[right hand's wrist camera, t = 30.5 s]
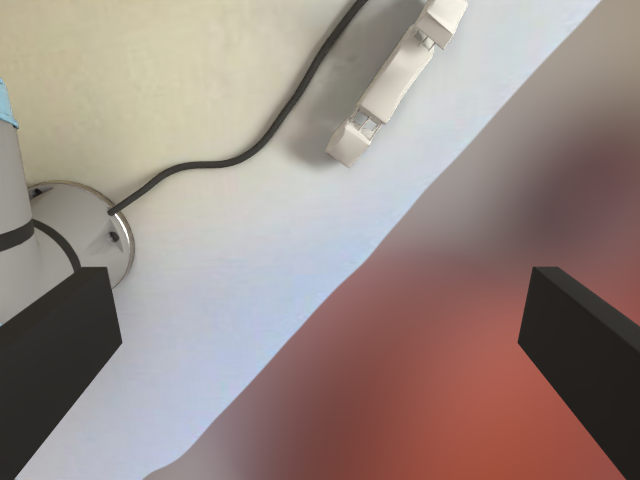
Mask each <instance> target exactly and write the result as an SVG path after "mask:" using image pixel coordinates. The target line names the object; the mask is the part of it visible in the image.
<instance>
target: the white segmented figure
mask: <svg viewBox="0 0 640 480" xmlns="http://www.w3.org/2000/svg"><path fill="white" fill-rule="evenodd" d="M467 6H468V2H467V1H466V0H428V1H427V2H426V4H425V6H424V8H423V10H422V12H421V13H420V15H419V17H418V19H417V21H416V22H415V24H413V25H411V26H410V27H409V29H408V30H407V31H406V33H405V34H404V35H403V37H402V38H401V40H400V41H399V43H398V44H397V46H396V47H395V49H394V50H393V52H392V53H391V55H390V56H389V57H388V59H387V60H386V62H385V63H384V65H383V66H382V68H381V69H380V70H379V72H378V73H377V75H376V76H375V78H374V79H373V80H372V82H371V83H370V85H369V86H368V88H367V89H366V91H365V92H364V93H363V95H362V96H361V98H360V99H359V101H358V102H357V104H356V110H355V111H354V113H353V114H352V116H351V117H350V118H349V117H348V118H347V119H346V120H345V121H344V122H343V123H342V124H341V125H340V126H339V127H338V129H337V130H336V131H335V133H334V134H333V135H332V137H331V139H330V141H329V143H328V145H327V147H326V150H325V151H326V152H327V153H328V154H330V155H331V156H332V157H334V158H335V159H337V160H338V161H339V162H341V163H342V164H343V165H345V166H346V167H348V168H350V167H351V166H352V165H353V164H354V163H355V162H356V160H357V159H358V158H359V157H360V156H361V155H362V154H363V153H364V151H365V150H366V149H367V148H368V147H369V145H370V143H371V141H372V138H373V137H374V135H375V134H376V133H377V131H378V130H379V129H380V127H381V126H382V125H383V124H386V123H387V122H388V121H389V119H390V118H391V116H392V114H393V113H394V111H395V110H396V108H397V106H398V105H399V103H400V101H401V100H402V98H403V96H404V95H405V94H406V92H407V91H408V89H409V88H410V86H411V85H412V84H413V82H414V81H415V79H416V78H417V76H418V75H419V74H420V72H421V71H422V70H423V69H424V67H425V66H426V65H427V63H428V62H429V61H430V60H431V58H432V57H433V53H434V45H435V44H437V45H438V46H439V47H440V48H442V49H443V50H444V48H445V47H446V45H447V44H448V43H449V41H450V40H451V38H452V37H453V35H454V33H455V31H456V28H457V26H458V23H459V21H460V20H461V18H462V16H463V14H464V12H465V10H466V9H467ZM358 110H359V111H360V112H362V113H363V114H364V115H366V116H367V117H368V118H367V120H366V121H365V122H364V123H363V125H362V126H360V125H359V124H357V123H356V122H354V121H353V119H354V117H355V116H356V113H357V111H358ZM351 118H352V119H351ZM370 119H371V120H372V121H374V122H375V123H376V124H377V125H376V127H375V128H374V129H373V130H372V131H371V130H368V129H365V128H363V127H364V126H365V124H366V123H367V122H368V121H369V120H370ZM379 125H380V126H379ZM378 126H379V127H378ZM377 127H378V128H377ZM376 128H377V130H376V131H375V133H373V132H374V130H375V129H376Z"/></svg>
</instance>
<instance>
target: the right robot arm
mask: <svg viewBox="0 0 640 480" xmlns="http://www.w3.org/2000/svg"><path fill="white" fill-rule="evenodd" d="M366 2H367V0H357V1H356V2H355V4H354V5H353V6H352V7H351V9H350V10H349V11H348V12H347V14H346V15H345V16H344V18H343V19H342V20H341V22H340V23H339V24H338V26H337V27H336V28H335V30H334V31H333V32H332V34H331V35H330V36H329V38H328V39H327V40H326V42H325V43H324V45H323V46H322V48H321V49H320V51H319V52H318V54H317V56H316V57H315V59H314V61H313V62H312V64H311V66H310V68H309V69H308V71H307V73H306V75H305V76H304V78H303V80H302V82H301V83H300V85H299V87H298V88H297V90H296V91H295V93H294V94H293V96H292V97H291V99H290V100H289V101H288V103H287V104H286V106H285V107H284V108H283V110H282V111H281V113H280V114H279V115H278V117H277V118H276V120H275V121H274V123H273V124H272V126H271V127H270V128H269V130H268V131H267V133H266V134H265V135H264V136H263V138H262V139H261V140H260V141H259V142H258V143H257V144H256V145H255V146H253V147H252V148H251V149H250V150H248V151H247V152H245V153H243V154H242V155H240V156H238V157H235V158H232V159H229V160H224V161H208V162H189V163H183V164H179V165H176V166H173V167H170V168H168V169H166V170H164V171H163V172H161V173H159V174H158V175H157V176H155V177H154V178H153V179H152V180H150V181H149V182H148V183H147V184H145V185H144V186H143V187H142V188H140V189H139V190H137V191H136V192H134V193H133V194H132V195H130V196H129V197H127V198H126V199H124V200H123V201H121V202H120V203H119V204H117V205H116V206H115V205H114V203H113V202H111V201H110V200H109V199H108V198H107V197H105V196H104V195H103V194H101V193H100V192H98V191H96V190H94V189H92V188H90V187H88V186H86V185H83V184H80V183H76V182H71V181H49V182H45V183H41V184H38V185H35V186H32V187H30V188H28V189H27V184H26V179H25V174H24V168H23V163H22V157H21V152H20V146H19V141H18V136H17V130H16V129H19V126H18V123H17V121H16V120H15V119H14V117H13V113H12V109H11V104H10V100H9V96H8V92H7V88H6V86H5V83H4V82H3V80H2V79H1V78H0V480H14V479H15V477H16V476H17V475H18V474H19V472H20V471H21V470H22V469H23V467H24V466H25V465H26V464H27V462H28V461H29V460H30V459H31V457H32V456H33V455H34V454H35V452H36V451H37V450H38V449H39V447H40V446H41V445H42V443H43V442H44V441H45V440H46V438H47V437H48V436H49V435H50V433H51V432H52V431H53V430H54V428H55V427H56V426H57V425H58V423H59V422H60V421H61V420H62V418H63V417H64V416H65V414H66V413H67V412H68V411H69V409H70V408H71V407H72V406H73V404H74V403H75V402H76V401H77V399H78V398H79V397H80V396H81V394H82V393H83V392H84V391H85V389H86V388H87V387H88V385H89V384H90V383H91V382H92V380H93V379H94V378H95V377H96V375H97V374H98V373H99V372H100V370H101V369H102V368H103V367H104V365H105V364H106V363H107V362H108V360H109V359H110V358H111V357H112V355H113V354H114V353H115V351H116V350H117V349H118V348H119V346H120V345H121V344H122V338H121V333H120V328H119V323H118V318H117V313H116V308H115V304H114V299H113V294H112V289H113V288H114V287H115V286H116V285H117V284H118V283H120V282H121V281H122V280H123V279H124V277H125V276H126V275H127V273H128V272H129V270H130V268H131V266H132V263H133V259H134V239H133V235H132V232H131V229H130V226H129V224H128V222H127V220H126V219H125V217H124V216H123V214H122V213H121V211H120V210H122V209H123V208H125V207H126V206H128V205H129V204H131V203H132V202H133V201H135V200H136V199H138V198H139V197H141V196H142V195H144V194H145V193H146V192H148V191H149V190H150V189H151V188H153V187H154V186H155V185H156V184H158V183H159V182H160V181H161V180H163V179H164V178H166V177H168V176H169V175H171V174H174V173H176V172H179V171H182V170H187V169H195V168H222V167H228V166H233V165H236V164H239V163H241V162H243V161H245V160H247V159H248V158H250V157H251V156H253V155H254V154H256V153H257V152H258V151H259V150H260V149H261V148H262V147H264V145H265V144H266V143H267V142H268V141H269V140H270V139H271V137H272V136H273V135H274V133H275V132H276V130H277V129H278V128H279V126H280V125H281V123H282V122H283V120H284V119H285V118H286V116H287V115H288V113H289V112H290V111H291V109H292V108H293V107H294V105H295V104H296V102H297V101H298V100H299V98H300V97H301V95H302V94H303V92H304V90H305V89H306V87H307V85H308V84H309V82H310V80H311V78H312V77H313V75H314V73H315V71H316V70H317V68H318V66H319V65H320V63H321V61H322V60H323V58H324V56H325V55H326V53H327V52H328V50H329V49H330V47H331V46H332V45H333V43H334V42H335V41H336V39H337V38H338V37H339V35H340V34H341V33H342V31H343V30H344V29H345V27H346V26H347V25H348V23H349V22H350V21H351V20H352V18H353V17H354V16H355V14H356V13H357V12H358V11H359V10H360V8H361V7H362V6H363V5H364V4H365V3H366ZM518 344H519V345H520V346H521V348H522V349H523V350H524V351H525V353H526V354H527V355H528V357H529V358H530V359H531V360H532V362H533V363H534V364H535V365H536V367H537V368H538V369H539V370H540V372H541V373H542V374H543V375H544V377H545V378H546V379H547V380H548V382H549V383H550V384H551V385H552V387H553V388H554V389H555V391H556V392H557V393H558V394H559V396H560V397H561V398H562V399H563V401H564V402H565V403H566V404H567V406H568V407H569V408H570V409H571V411H572V412H573V413H574V414H575V416H576V417H577V418H578V420H579V421H580V422H581V423H582V425H583V426H584V427H585V428H586V430H587V431H588V432H589V433H590V435H591V436H592V437H593V438H594V440H595V441H596V442H597V443H598V445H599V446H600V447H601V449H602V450H603V451H604V452H605V454H606V455H607V456H608V457H609V459H610V460H611V461H612V462H613V464H614V465H615V466H616V467H617V469H618V470H619V471H620V472H621V474H622V475H623V476H624V477H625V479H626V480H640V326H638V325H637V324H636V323H634V322H633V321H632V320H630V319H629V318H628V317H626V316H625V315H623V314H622V313H621V312H619V311H618V310H616V309H615V308H614V307H612V306H611V305H610V304H608V303H607V302H606V301H604V300H603V299H601V298H600V297H599V296H597V295H596V294H595V293H593V292H592V291H590V290H589V289H588V288H586V287H585V286H584V285H582V284H581V283H579V282H578V281H577V280H575V279H574V278H573V277H571V276H570V275H568V274H567V273H566V272H564V271H563V270H562V269H560V268H559V267H533V269H532V274H531V279H530V284H529V289H528V294H527V299H526V304H525V308H524V313H523V318H522V324H521V328H520V333H519V338H518Z"/></svg>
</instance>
